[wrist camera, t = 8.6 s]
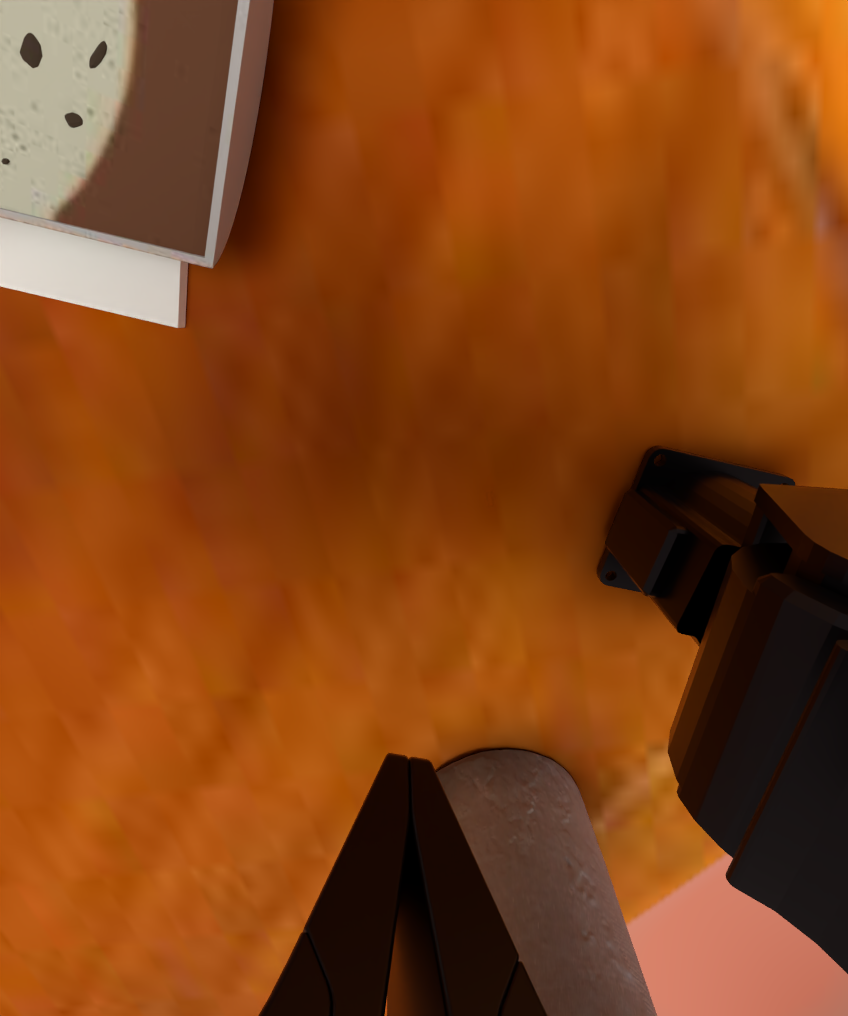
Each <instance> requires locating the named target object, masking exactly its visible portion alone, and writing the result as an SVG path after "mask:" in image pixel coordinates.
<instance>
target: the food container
mask: <svg viewBox="0 0 848 1016" xmlns="http://www.w3.org/2000/svg"><path fill="white" fill-rule="evenodd" d="M273 5H274V0H0V217H1V218H5V219H9V220H13V221H18V222H22V223H26V224H30V225H34V226H38V227H42V228H46V229H51V230H55V231H59V232H63V233H67V234H71V235H75V236H79V237H84V238H88V239H92V240H96V241H100V242H104V243H108V244H113V245H117V246H121V247H125V248H129V249H133V250H137V251H141V252H146V253H150V254H154V255H158V256H162V257H166V258H170V259H175V260H179V261H183V262H187V263H191V264H195V265H199V266H203V267H208V268H212V269H213V267H214V266H215V265H216V263H217V262H218V260H219V258H220V257H221V255H222V253H223V250H224V248H225V245H226V243H227V240H228V238H229V235H230V232H231V229H232V226H233V222H234V219H235V216H236V212H237V209H238V205H239V201H240V197H241V193H242V189H243V185H244V181H245V176H246V172H247V167H248V163H249V158H250V153H251V148H252V143H253V138H254V133H255V127H256V122H257V116H258V110H259V104H260V99H261V93H262V86H263V80H264V73H265V66H266V60H267V52H268V44H269V37H270V29H271V22H272V14H273Z"/></svg>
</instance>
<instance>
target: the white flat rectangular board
mask: <svg viewBox="0 0 848 1016" xmlns="http://www.w3.org/2000/svg"><path fill="white" fill-rule="evenodd" d="M187 276H188V263H187V262H183V261H179V260H175V259H170V258H166V257H162V256H158V255H154V254H150V253H146V252H141V251H137V250H133V249H129V248H125V247H121V246H117V245H113V244H108V243H104V242H100V241H96V240H92V239H88V238H84V237H79V236H75V235H71V234H67V233H63V232H59V231H55V230H51V229H46V228H42V227H38V226H34V225H30V224H26V223H22V222H18V221H13V220H9V219H5V218H1V217H0V286H1V287H5V288H10V289H14V290H18V291H23V292H27V293H31V294H35V295H40V296H44V297H48V298H52V299H57V300H61V301H65V302H69V303H74V304H78V305H82V306H86V307H91V308H95V309H99V310H103V311H108V312H112V313H116V314H120V315H125V316H129V317H133V318H138V319H142V320H146V321H150V322H155V323H159V324H163V325H167V326H172V327H176V328H184V327H185V320H186V298H187Z"/></svg>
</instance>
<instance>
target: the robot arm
mask: <svg viewBox="0 0 848 1016" xmlns="http://www.w3.org/2000/svg"><path fill="white" fill-rule="evenodd" d="M658 455H662V460H661V461H660V462H659V463H657V464H655V463H654V459H655V458H656V456H658ZM782 483H783V485H780V484H782ZM605 544H606V546H607V548H606V550H605V553H604V555H603V557H602V560H601V562H600V565H599V567H598V570H597V575H598V578H599V579H600V581H601V582H602V583H603V584H605V585H608V586H613V587H618V588H623V589H628V590H632V591H637V592H642V593H643V594H644V595H645V596H649V597H650V598H651V599H652V600H653V601H654V603H655V604H656V605H657V606H658V608H659V609H660V610H661V611H662V613H663V614H664V615H665V616H666V618H667V619H668V620H669V621H670V623H671V624H672V625H673V626H674V628H675V629H676V630H677V631H678V632H679V633H681V634H685V635H690V636H691V637H692V638H693V639H694V641H695V642H696V643H697V644H698V646H699V650H698V653H697V656H696V658H695V661H694V664H693V667H692V670H691V673H690V676H689V678H688V681H687V684H686V687H685V690H684V693H683V696H682V698H681V701H680V704H679V707H678V710H677V713H676V716H675V719H674V721H673V724H672V727H671V730H670V737H669V745H668V754H669V757H670V761H671V764H672V767H673V770H674V773H675V776H676V779H677V781H678V783H679V786H678V789H677V794H678V797H679V798H680V800H681V801H682V803H683V804H684V806H685V807H686V808H687V810H688V811H689V813H690V814H691V816H692V817H693V819H694V820H695V821H696V822H697V823H698V824H699V825H700V826H701V827H702V828H703V830H704V831H705V832H706V833H707V834H708V835H709V836H710V837H711V838H712V839H713V840H714V841H715V842H716V843H717V844H718V845H719V846H720V847H721V848H722V849H723V850H724V851H725V852H726V853H727V854H729V855H730V856H731V857H733V860H732V862H731V864H730V866H729V868H728V871H727V872H726V879H727V880H728V882H729V883H730V884H731V885H732V886H733V887H735V888H736V889H738V890H739V891H741V892H743V893H745V894H747V895H748V896H750V897H752V898H753V899H755V900H757V901H759V902H760V903H762V904H764V905H765V906H767V907H769V908H771V909H772V910H774V911H776V912H777V913H778V914H779V915H781V916H782V917H783V918H785V919H786V920H787V921H788V922H790V923H791V924H792V925H794V926H795V927H796V928H797V929H799V930H800V931H801V932H802V933H804V934H805V935H806V936H808V937H809V938H810V939H811V940H813V941H814V942H815V943H816V944H818V946H820V947H821V948H822V949H823V950H824V951H825V952H826V953H827V954H828V955H829V956H830V957H831V958H832V959H833V960H834V961H835V962H836V963H837V964H838V965H839V966H840V967H841V968H843V970H844V971H845V972H846V973H847V974H848V489H834V488H820V487H805V486H795V482H794V481H793V479H790V478H788V477H786V476H784V475H781V474H777V473H773V472H769V471H764V470H760V469H756V468H751V467H747V466H743V465H739V464H734V463H730V462H726V461H721V460H717V459H713V458H709V457H704V456H700V455H696V454H692V453H687V452H683V451H679V450H674V449H670V448H666V447H662V446H655V447H653V448H651V449H649V450H648V451H647V453H646V454H645V456H644V458H643V461H642V463H641V466H640V468H639V470H638V473H637V475H636V478H635V480H634V482H633V485H632V487H631V490H629V491H628V492H627V493H625V495H624V497H623V500H622V502H621V505H620V507H619V510H618V512H617V515H616V517H615V519H614V522H613V524H612V527H611V529H610V532H609V534H608V536H607V539H606V541H605ZM609 571H613V574H612V575H610V576H606V574H607V572H609ZM386 999H387V1016H548V1015H547V1013H546V1011H545V1009H544V1007H543V1005H542V1003H541V1001H540V999H539V997H538V995H537V993H536V991H535V988H534V986H533V984H532V982H531V980H530V977H529V975H528V973H527V971H526V968H525V966H524V964H523V962H522V961H519V954H518V951H517V949H516V947H515V945H514V943H513V940H512V938H511V936H510V934H509V932H508V929H507V927H506V925H505V923H504V921H503V918H502V916H501V914H500V912H499V910H498V907H497V905H496V903H495V901H494V899H493V897H492V894H491V892H490V890H489V888H488V886H487V883H486V881H485V879H484V877H483V875H482V872H481V870H480V868H479V866H478V864H477V861H476V859H475V857H474V855H473V853H472V850H471V848H470V846H469V844H468V842H467V839H466V837H465V835H464V833H463V831H462V828H461V826H460V824H459V822H458V820H457V818H456V815H455V813H454V811H453V809H452V807H451V804H450V802H449V800H448V798H447V796H446V793H445V791H444V789H443V787H442V785H441V782H440V780H439V778H438V776H437V774H436V771H435V769H434V767H433V765H432V763H431V762H430V761H429V760H427V759H423V758H417V757H410V758H409V759H408V757H407V756H405V755H399V754H393V753H388V754H387V755H386V757H385V759H384V761H383V763H382V765H381V767H380V769H379V772H378V774H377V776H376V778H375V780H374V782H373V784H372V786H371V788H370V790H369V793H368V795H367V797H366V799H365V801H364V803H363V805H362V807H361V809H360V811H359V813H358V816H357V818H356V820H355V822H354V824H353V826H352V828H351V830H350V832H349V834H348V837H347V839H346V841H345V843H344V845H343V847H342V849H341V851H340V853H339V855H338V857H337V860H336V862H335V864H334V866H333V868H332V870H331V872H330V874H329V876H328V878H327V880H326V883H325V885H324V887H323V889H322V891H321V893H320V895H319V897H318V899H317V901H316V904H315V906H314V908H313V910H312V912H311V914H310V916H309V918H308V920H307V922H306V924H305V927H304V930H303V932H302V933H301V934H300V936H299V938H298V941H297V943H296V945H295V947H294V949H293V951H292V953H291V955H290V957H289V959H288V961H287V963H286V965H285V967H284V969H283V971H282V973H281V975H280V977H279V979H278V981H277V983H276V985H275V987H274V989H273V991H272V993H271V995H270V997H269V998H268V1000H267V1002H266V1004H265V1005H264V1007H263V1009H262V1011H261V1012H260V1014H259V1016H384V1014H385V1007H386Z"/></svg>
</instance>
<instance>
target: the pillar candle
mask: <svg viewBox="0 0 848 1016" xmlns="http://www.w3.org/2000/svg"><path fill="white" fill-rule="evenodd" d="M436 774H437V776H438V778H439V780H440V782H441V785H442V787H443V789H444V791H445V793H446V796H447V798H448V800H449V802H450V804H451V807H452V809H453V811H454V813H455V815H456V818H457V820H458V822H459V824H460V826H461V828H462V831H463V833H464V835H465V837H466V839H467V842H468V844H469V846H470V848H471V850H472V853H473V855H474V857H475V859H476V861H477V864H478V866H479V868H480V870H481V872H482V875H483V877H484V879H485V881H486V883H487V886H488V888H489V890H490V892H491V894H492V897H493V899H494V901H495V903H496V905H497V907H498V910H499V912H500V914H501V916H502V918H503V921H504V923H505V925H506V927H507V929H508V932H509V934H510V936H511V938H512V940H513V943H514V945H515V947H516V949H517V951H518V954H519V961H522V962H523V964H524V966H525V968H526V971H527V973H528V975H529V977H530V980H531V982H532V984H533V986H534V988H535V991H536V993H537V995H538V997H539V999H540V1001H541V1003H542V1005H543V1007H544V1009H545V1011H546V1013H547V1015H548V1016H657V1014H656V1011H655V1008H654V1006H653V1003H652V1000H651V997H650V994H649V991H648V988H647V985H646V982H645V979H644V977H643V973H642V971H641V968H640V965H639V962H638V959H637V956H636V953H635V951H634V947H633V944H632V942H631V939H630V936H629V933H628V930H627V927H626V924H625V921H624V918H623V915H622V912H621V909H620V906H619V903H618V900H617V897H616V894H615V891H614V888H613V885H612V882H611V879H610V876H609V873H608V870H607V867H606V864H605V862H604V859H603V856H602V853H601V851H600V848H599V845H598V843H597V839H596V836H595V833H594V831H593V828H592V825H591V822H590V819H589V816H588V814H587V811H586V808H585V805H584V802H583V800H582V797H581V794H580V791H579V789H578V787H577V785H576V784H575V782H574V780H573V779H572V777H571V776H570V775H569V774H568V772H567V771H566V770H565V769H564V768H563V767H561V766H560V765H559V764H557V763H556V762H554V761H553V760H551V759H549V758H546V757H545V756H541V755H538V754H535V753H532V752H528V751H524V750H509V749H503V750H493V751H487V752H485V751H484V752H480V753H477V754H473V755H470V756H468V757H465V758H463V759H461V760H459V761H456V762H454V763H452V764H450V765H448V766H446V767H444V768H442V769H440V770H439V771H437V772H436Z"/></svg>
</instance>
